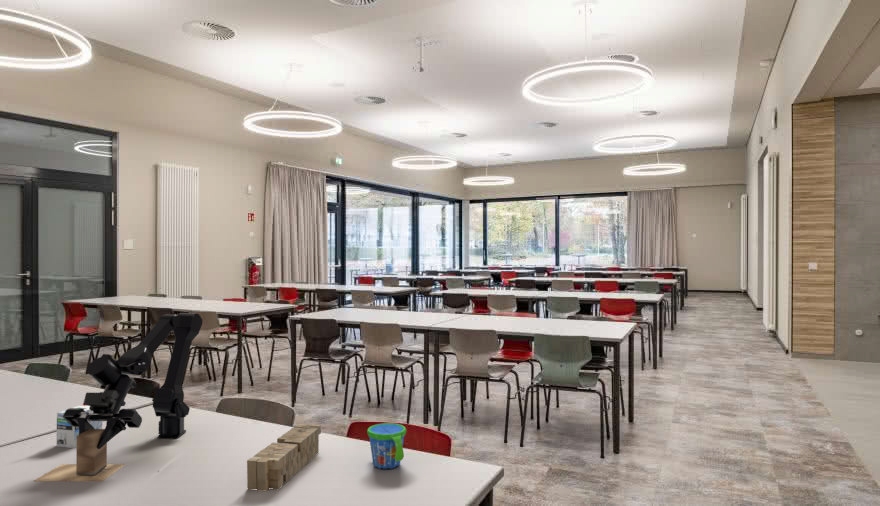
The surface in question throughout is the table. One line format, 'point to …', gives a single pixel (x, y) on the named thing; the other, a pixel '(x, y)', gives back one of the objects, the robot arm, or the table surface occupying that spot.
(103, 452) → the block
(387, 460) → the snack cup
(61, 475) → the board
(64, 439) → the light bulb box
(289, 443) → the block tower
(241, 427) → the table surface
